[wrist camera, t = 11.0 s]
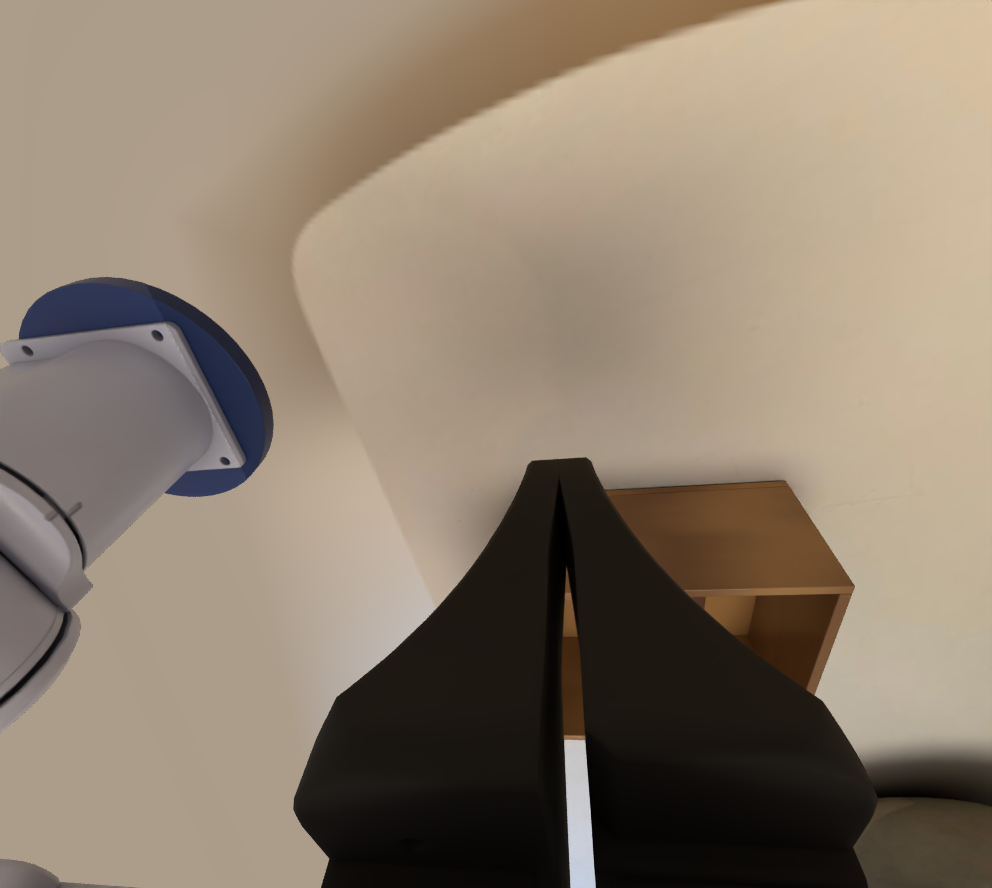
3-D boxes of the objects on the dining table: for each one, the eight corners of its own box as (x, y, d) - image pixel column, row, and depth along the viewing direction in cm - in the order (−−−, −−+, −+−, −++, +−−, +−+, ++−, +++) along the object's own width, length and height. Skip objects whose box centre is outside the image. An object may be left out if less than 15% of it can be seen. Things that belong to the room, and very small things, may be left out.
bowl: (731, 856, 44) (763, 985, 38) (784, 739, 33) (843, 895, 26) (991, 875, 42) (1075, 1017, 35) (1146, 755, 31) (1312, 932, 24)
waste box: (541, 635, 29) (540, 739, 24) (520, 495, 23) (513, 594, 18) (751, 633, 27) (796, 744, 23) (786, 480, 22) (855, 586, 17)
